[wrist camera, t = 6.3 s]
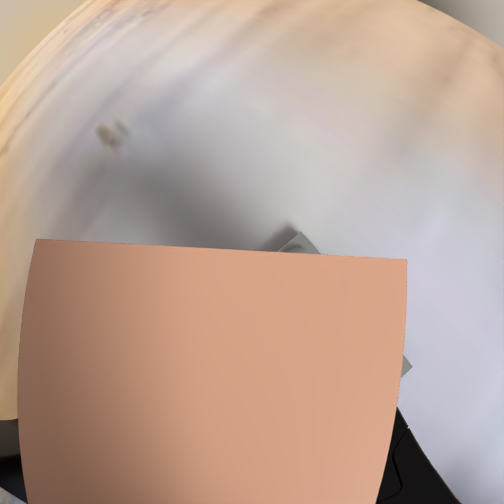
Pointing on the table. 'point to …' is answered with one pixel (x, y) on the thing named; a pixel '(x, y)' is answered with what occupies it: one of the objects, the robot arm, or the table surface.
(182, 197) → the table surface
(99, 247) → the tall brick
